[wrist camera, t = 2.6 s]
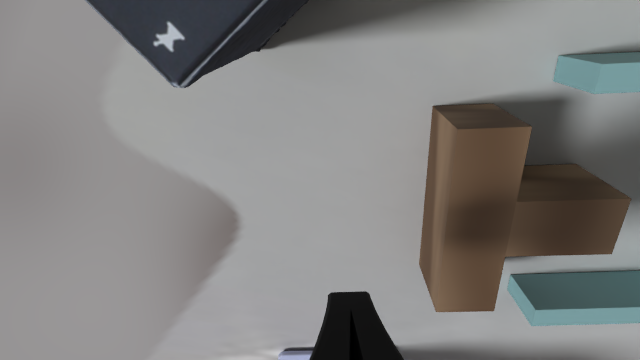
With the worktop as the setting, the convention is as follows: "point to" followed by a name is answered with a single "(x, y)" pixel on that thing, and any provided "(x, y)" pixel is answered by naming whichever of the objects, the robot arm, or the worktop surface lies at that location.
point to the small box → (195, 31)
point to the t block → (502, 206)
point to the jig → (588, 287)
